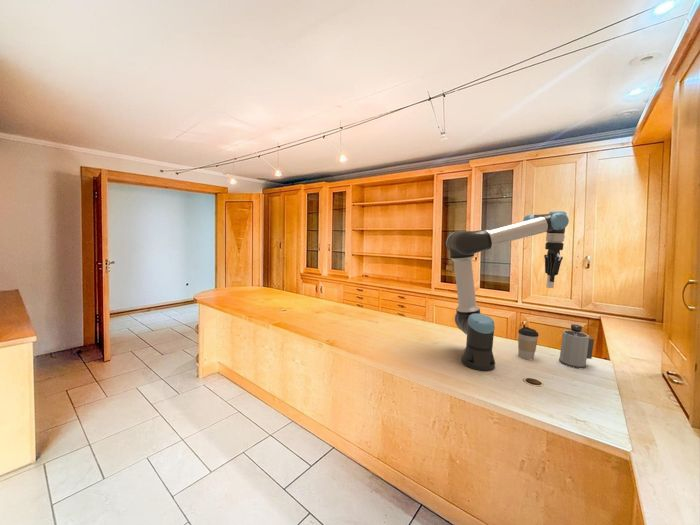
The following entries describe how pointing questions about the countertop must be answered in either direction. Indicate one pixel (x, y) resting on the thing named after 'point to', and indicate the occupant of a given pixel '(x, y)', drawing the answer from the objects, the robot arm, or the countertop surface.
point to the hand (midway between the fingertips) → (549, 287)
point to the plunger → (576, 328)
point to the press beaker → (575, 349)
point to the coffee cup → (527, 342)
